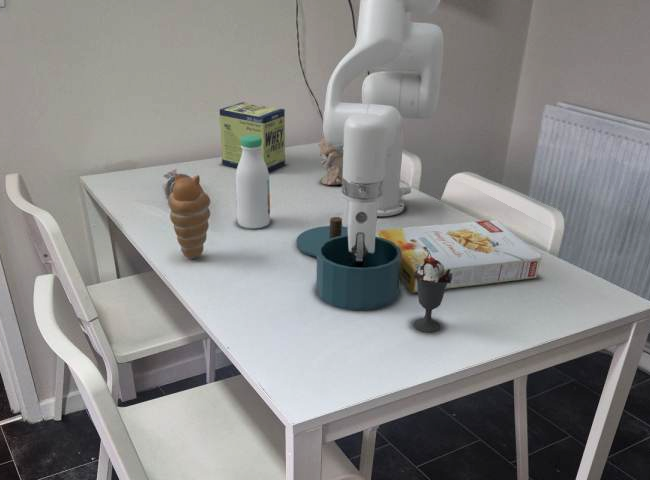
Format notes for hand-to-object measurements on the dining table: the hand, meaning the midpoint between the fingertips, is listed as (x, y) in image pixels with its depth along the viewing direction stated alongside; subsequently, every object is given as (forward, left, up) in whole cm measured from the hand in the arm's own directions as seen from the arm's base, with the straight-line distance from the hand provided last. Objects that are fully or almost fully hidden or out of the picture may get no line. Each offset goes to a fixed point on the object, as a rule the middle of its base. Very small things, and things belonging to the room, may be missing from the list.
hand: (357, 278), depth 139 cm
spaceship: (+1, -62, -3) cm, 62 cm away
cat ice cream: (+16, -34, -3) cm, 38 cm away
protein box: (-33, -76, -3) cm, 83 cm away
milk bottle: (-6, -41, -3) cm, 42 cm away
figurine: (-41, -50, -3) cm, 65 cm away
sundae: (0, +18, -3) cm, 18 cm away
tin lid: (-12, -19, -2) cm, 22 cm away
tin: (0, 0, -3) cm, 3 cm away
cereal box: (-24, +5, -3) cm, 25 cm away
